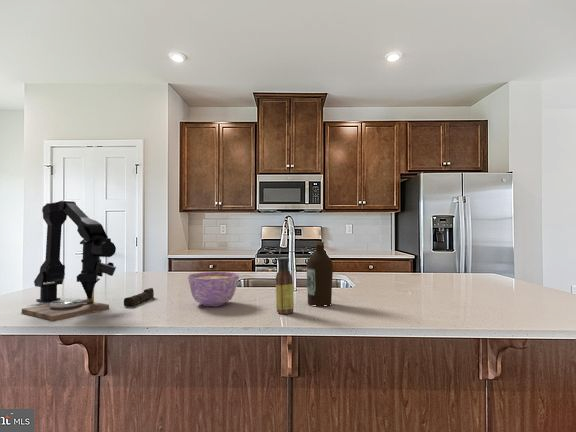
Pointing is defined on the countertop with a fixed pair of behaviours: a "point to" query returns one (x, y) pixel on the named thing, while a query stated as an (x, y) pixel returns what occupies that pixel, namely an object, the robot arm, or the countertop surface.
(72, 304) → the dial
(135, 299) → the hand tool
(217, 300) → the bowl of food
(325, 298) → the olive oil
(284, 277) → the sauce bottle
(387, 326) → the countertop surface
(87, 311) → the dial panel
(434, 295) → the countertop surface
